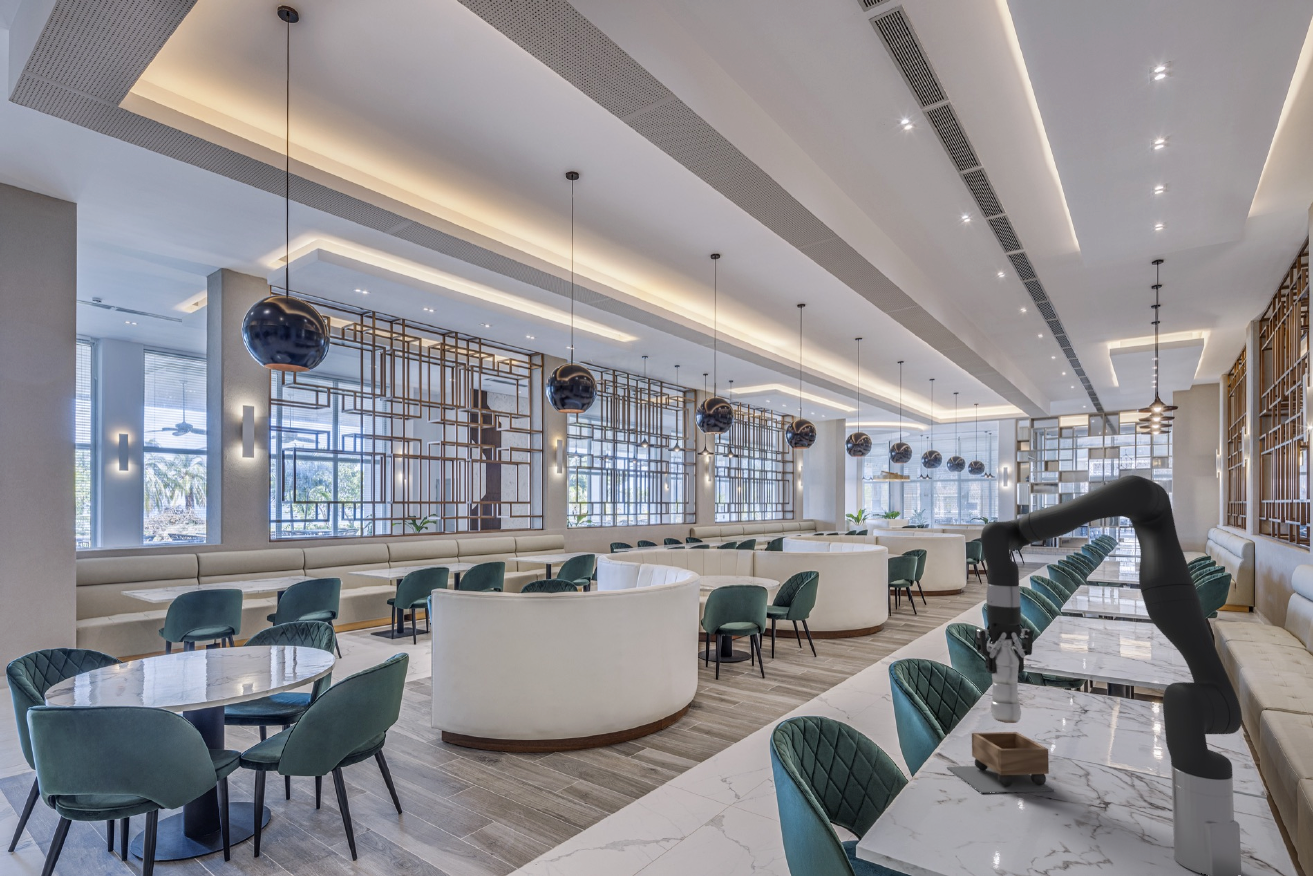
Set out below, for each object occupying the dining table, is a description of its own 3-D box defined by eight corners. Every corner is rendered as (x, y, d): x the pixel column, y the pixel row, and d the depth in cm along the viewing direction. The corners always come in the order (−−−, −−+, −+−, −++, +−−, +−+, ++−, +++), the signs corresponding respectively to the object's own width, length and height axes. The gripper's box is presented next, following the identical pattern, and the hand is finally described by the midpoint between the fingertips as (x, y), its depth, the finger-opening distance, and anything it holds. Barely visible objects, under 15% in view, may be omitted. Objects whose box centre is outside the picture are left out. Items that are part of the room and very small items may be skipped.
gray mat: (1054, 791, 166) (1053, 789, 166) (981, 794, 163) (981, 792, 163) (1014, 766, 180) (1013, 765, 181) (946, 768, 178) (946, 767, 178)
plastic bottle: (1025, 727, 169) (1023, 641, 171) (994, 725, 171) (992, 639, 172) (1017, 719, 176) (1015, 636, 177) (987, 717, 177) (986, 634, 178)
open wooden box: (1049, 786, 167) (1048, 749, 168) (1001, 787, 166) (1000, 750, 166) (1017, 766, 179) (1016, 732, 180) (972, 767, 178) (971, 733, 178)
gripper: (984, 605, 171) (986, 677, 169) (1040, 605, 172) (1042, 676, 171) (967, 601, 178) (968, 669, 177) (1021, 601, 180) (1022, 668, 179)
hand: (1004, 672), depth 174 cm, fingers closed on plastic bottle, 6 cm apart
